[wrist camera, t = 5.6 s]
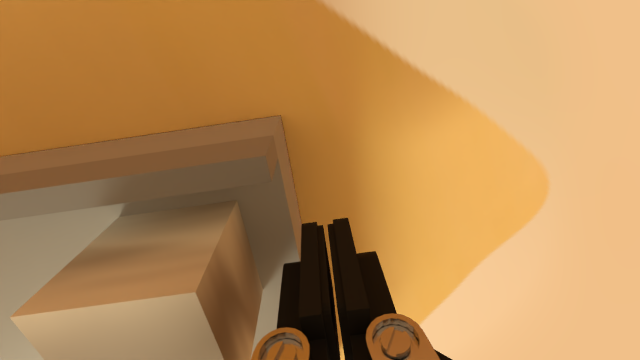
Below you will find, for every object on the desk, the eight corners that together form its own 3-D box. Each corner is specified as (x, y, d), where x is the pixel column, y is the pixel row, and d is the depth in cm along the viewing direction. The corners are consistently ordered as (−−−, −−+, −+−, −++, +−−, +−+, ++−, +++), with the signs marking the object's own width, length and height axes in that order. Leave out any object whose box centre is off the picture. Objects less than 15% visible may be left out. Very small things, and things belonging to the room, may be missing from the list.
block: (263, 289, 13) (242, 403, 9) (162, 303, 13) (95, 422, 9) (236, 200, 11) (195, 292, 7) (119, 216, 11) (9, 317, 7)
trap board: (327, 358, 19) (334, 455, 15) (-28, 404, 20) (-128, 511, 15) (280, 115, 13) (265, 155, 8) (-256, 194, 13) (-557, 274, 8)
